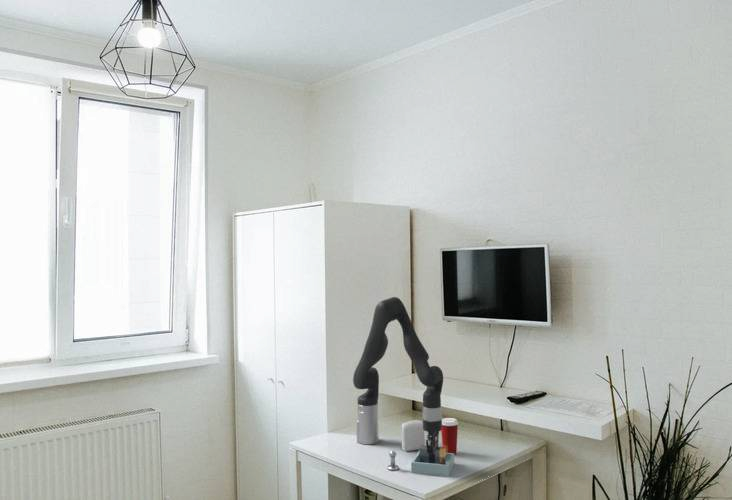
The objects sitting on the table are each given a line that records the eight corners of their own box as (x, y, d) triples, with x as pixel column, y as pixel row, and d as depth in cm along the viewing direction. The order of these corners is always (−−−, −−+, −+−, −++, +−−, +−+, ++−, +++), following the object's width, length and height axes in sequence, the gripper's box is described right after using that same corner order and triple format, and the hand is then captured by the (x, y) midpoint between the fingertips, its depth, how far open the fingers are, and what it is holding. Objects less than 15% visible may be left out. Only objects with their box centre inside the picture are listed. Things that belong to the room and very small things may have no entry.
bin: (411, 472, 224) (411, 462, 224) (419, 460, 237) (419, 450, 237) (448, 476, 219) (448, 465, 219) (454, 463, 233) (454, 453, 233)
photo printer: (404, 452, 247) (403, 423, 247) (400, 449, 251) (399, 420, 251) (426, 449, 250) (425, 420, 250) (422, 446, 254) (421, 418, 254)
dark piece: (444, 466, 225) (444, 450, 225) (419, 463, 228) (419, 448, 228) (446, 462, 229) (446, 447, 229) (421, 460, 232) (421, 445, 232)
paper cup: (461, 451, 247) (460, 418, 247) (456, 457, 240) (455, 423, 240) (443, 449, 250) (442, 416, 250) (438, 454, 243) (437, 421, 243)
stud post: (386, 470, 227) (385, 452, 227) (389, 466, 231) (388, 448, 231) (396, 471, 225) (396, 453, 225) (399, 467, 230) (399, 449, 230)
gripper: (426, 412, 236) (427, 454, 236) (418, 422, 223) (419, 466, 223) (444, 413, 234) (445, 456, 234) (438, 423, 220) (439, 468, 220)
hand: (433, 461), depth 228 cm, fingers closed on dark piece, 4 cm apart
